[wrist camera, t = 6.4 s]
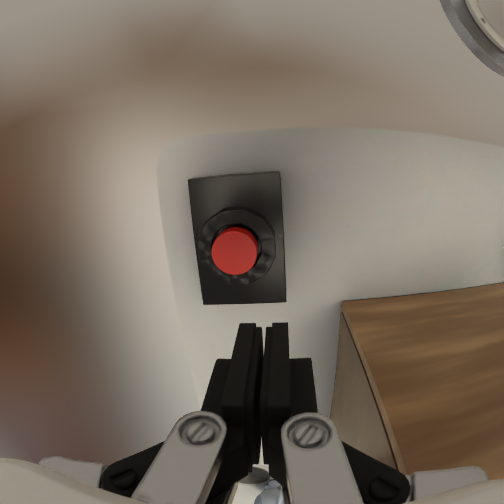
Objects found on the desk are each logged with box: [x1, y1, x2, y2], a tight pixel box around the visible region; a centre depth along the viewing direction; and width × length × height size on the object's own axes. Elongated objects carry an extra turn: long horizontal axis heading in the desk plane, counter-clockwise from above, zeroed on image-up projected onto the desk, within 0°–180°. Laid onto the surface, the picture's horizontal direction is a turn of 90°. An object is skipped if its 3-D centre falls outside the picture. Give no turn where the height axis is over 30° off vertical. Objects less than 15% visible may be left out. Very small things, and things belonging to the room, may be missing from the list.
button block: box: [188, 171, 286, 305], centre depth 27 cm, size 12×8×4 cm, turn 4°
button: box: [212, 227, 258, 275], centre depth 24 cm, size 4×4×2 cm
